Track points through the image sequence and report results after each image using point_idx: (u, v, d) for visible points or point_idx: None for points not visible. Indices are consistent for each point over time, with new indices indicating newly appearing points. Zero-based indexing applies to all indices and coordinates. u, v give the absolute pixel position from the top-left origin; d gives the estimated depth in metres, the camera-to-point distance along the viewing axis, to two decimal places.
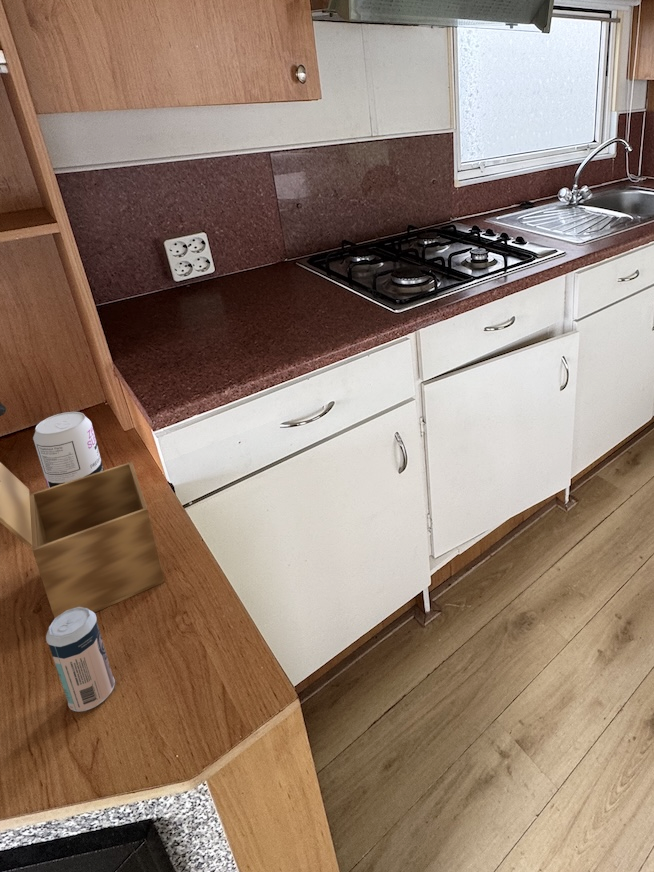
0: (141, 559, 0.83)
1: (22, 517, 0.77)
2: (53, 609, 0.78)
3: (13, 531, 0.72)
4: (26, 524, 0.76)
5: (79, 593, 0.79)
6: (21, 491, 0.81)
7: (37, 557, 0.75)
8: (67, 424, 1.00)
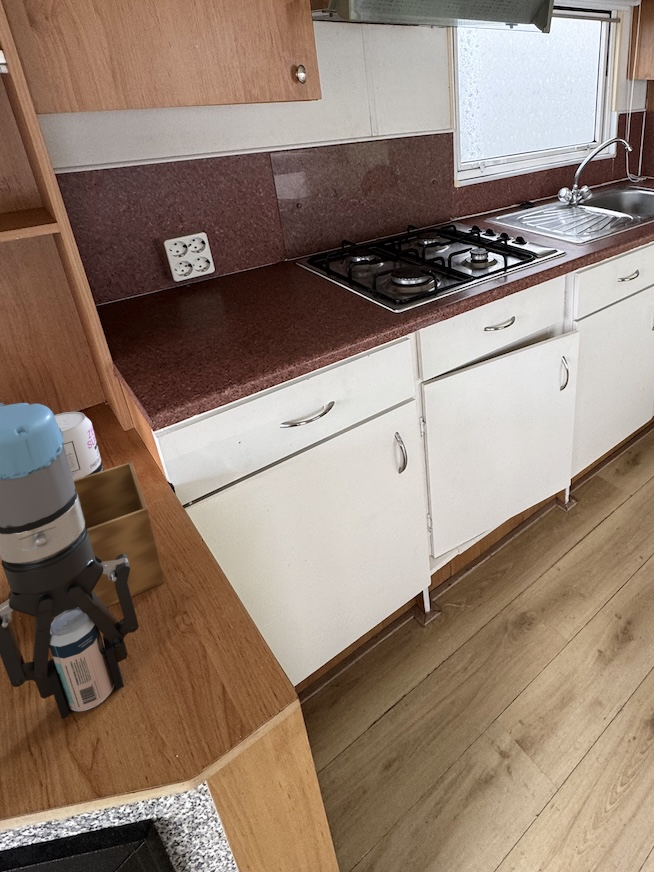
0: (141, 559, 0.83)
1: None
2: None
3: None
4: None
5: None
6: None
7: None
8: (67, 424, 1.00)
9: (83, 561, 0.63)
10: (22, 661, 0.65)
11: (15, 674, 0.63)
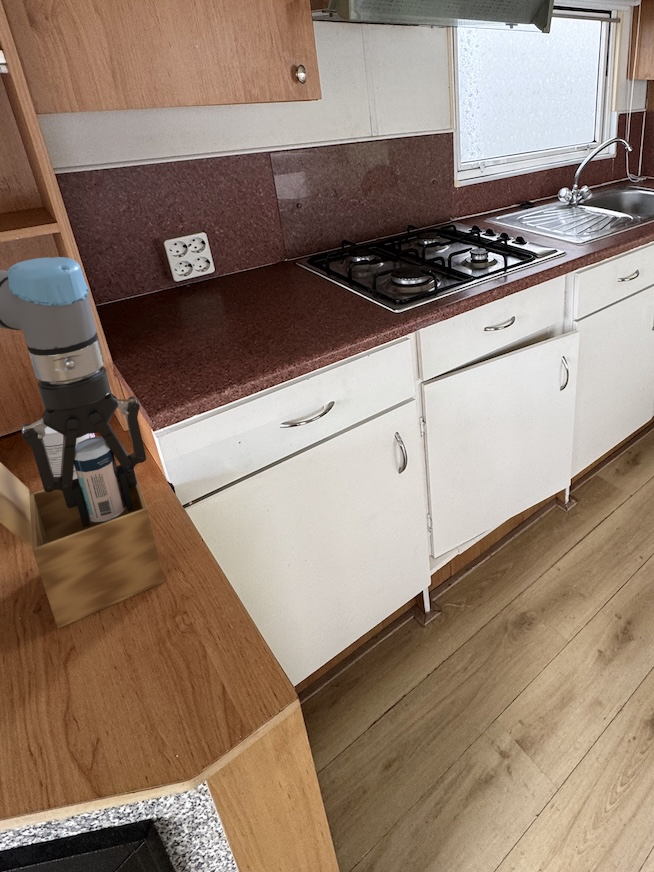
0: (141, 559, 0.83)
1: (22, 517, 0.77)
2: (53, 609, 0.78)
3: (13, 531, 0.72)
4: (26, 524, 0.76)
5: (79, 593, 0.79)
6: (21, 491, 0.81)
7: (37, 557, 0.75)
8: None
9: (102, 390, 0.78)
10: (52, 475, 0.80)
11: (47, 481, 0.78)
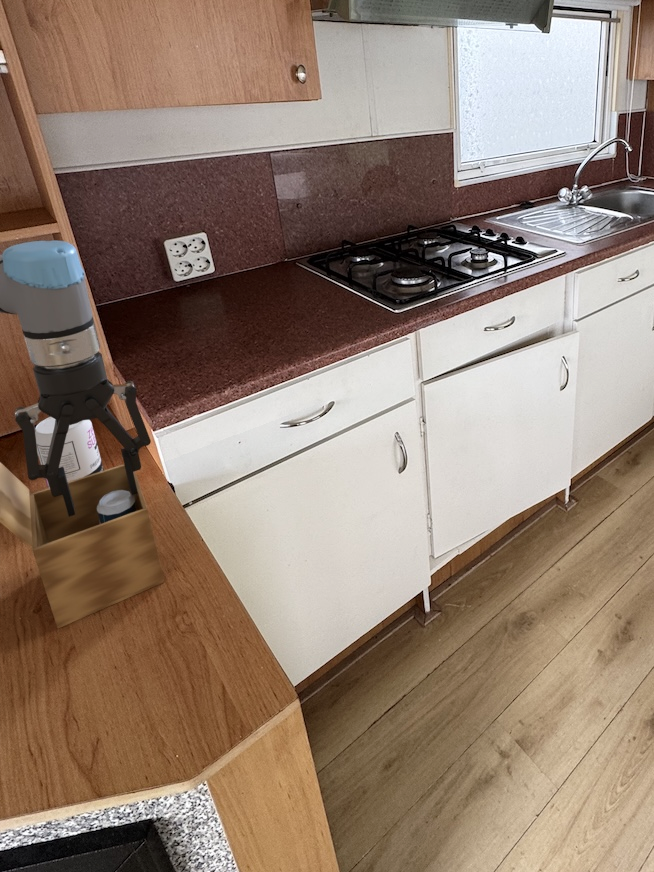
0: (141, 559, 0.83)
1: (22, 517, 0.77)
2: (53, 609, 0.78)
3: (13, 531, 0.72)
4: (26, 524, 0.76)
5: (79, 593, 0.79)
6: (21, 491, 0.81)
7: (37, 557, 0.75)
8: None
9: (98, 376, 0.78)
10: (37, 463, 0.79)
11: (32, 468, 0.77)
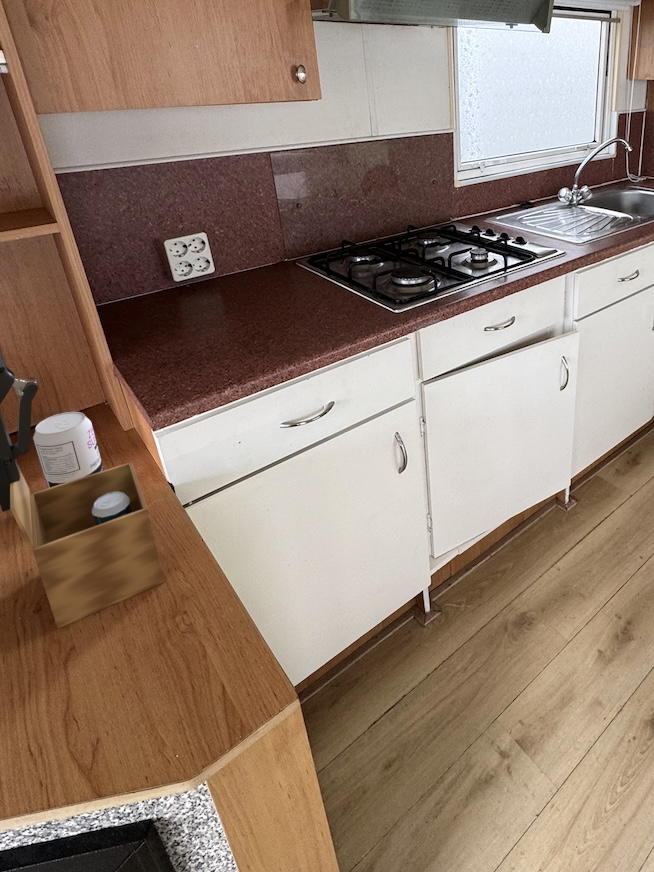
0: (141, 559, 0.83)
1: (26, 515, 0.77)
2: (53, 609, 0.78)
3: (21, 527, 0.73)
4: (29, 523, 0.77)
5: (79, 593, 0.79)
6: (25, 489, 0.82)
7: (37, 557, 0.75)
8: (67, 424, 1.00)
9: None
10: None
11: None
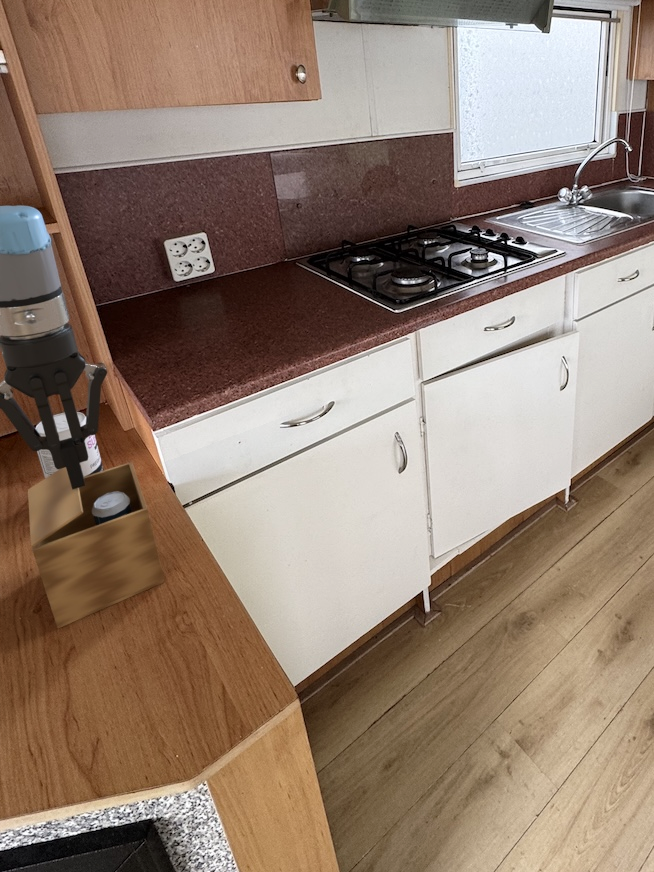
0: (141, 559, 0.83)
1: None
2: (53, 609, 0.78)
3: (57, 528, 0.76)
4: None
5: (79, 593, 0.79)
6: None
7: (37, 557, 0.75)
8: (67, 424, 1.00)
9: (67, 348, 0.74)
10: (37, 434, 0.78)
11: (31, 440, 0.76)
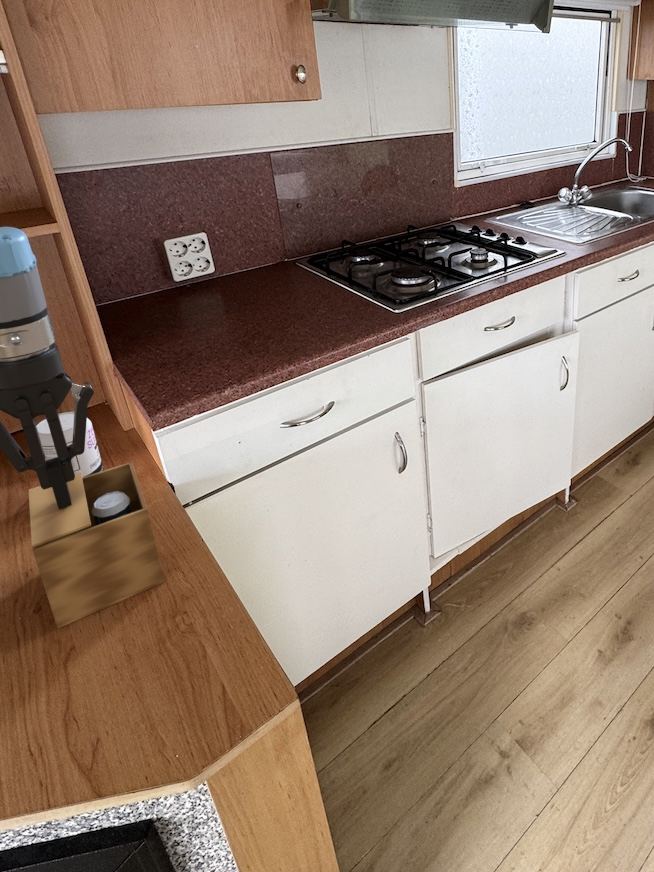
0: (141, 559, 0.83)
1: None
2: (53, 609, 0.78)
3: (62, 535, 0.76)
4: None
5: (79, 593, 0.79)
6: None
7: (37, 557, 0.75)
8: (67, 424, 1.00)
9: (53, 369, 0.74)
10: (23, 454, 0.77)
11: (16, 461, 0.75)
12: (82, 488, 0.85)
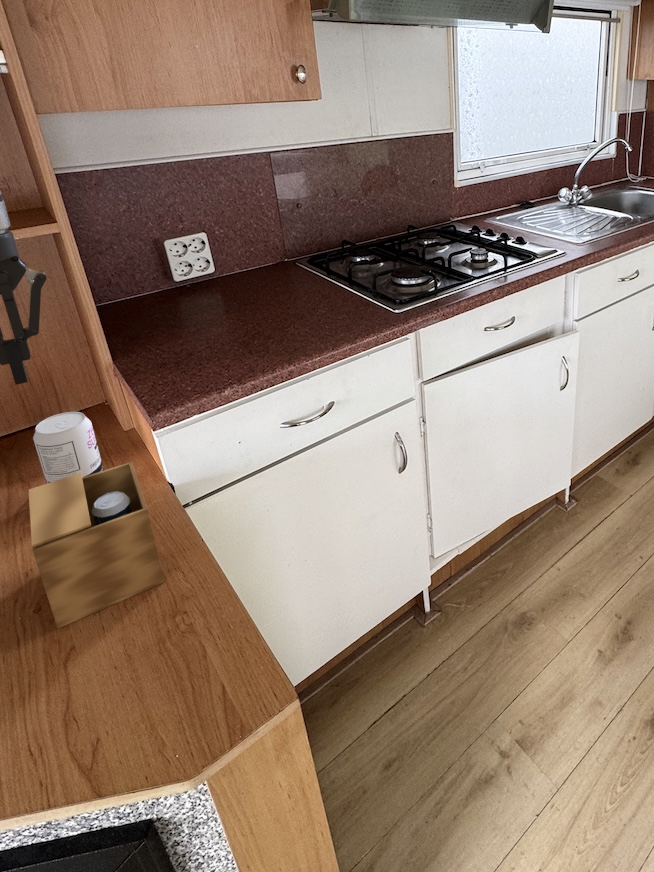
0: (141, 559, 0.83)
1: None
2: (53, 609, 0.78)
3: (62, 535, 0.76)
4: None
5: (79, 593, 0.79)
6: None
7: (37, 557, 0.75)
8: (67, 424, 1.00)
9: (8, 250, 0.83)
10: None
11: None
12: (82, 488, 0.85)
